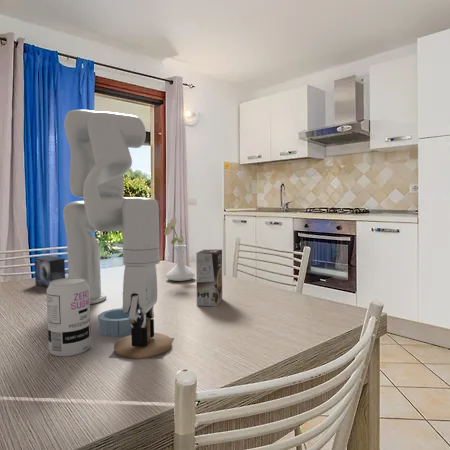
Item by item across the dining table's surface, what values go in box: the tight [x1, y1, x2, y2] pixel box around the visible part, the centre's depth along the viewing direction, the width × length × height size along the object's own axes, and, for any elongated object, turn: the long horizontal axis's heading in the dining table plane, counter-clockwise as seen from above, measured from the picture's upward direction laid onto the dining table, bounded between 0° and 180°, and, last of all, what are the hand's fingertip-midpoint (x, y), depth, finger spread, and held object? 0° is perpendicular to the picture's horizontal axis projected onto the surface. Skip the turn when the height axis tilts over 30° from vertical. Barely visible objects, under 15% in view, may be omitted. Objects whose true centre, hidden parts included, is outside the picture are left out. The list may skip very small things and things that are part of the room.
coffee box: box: [195, 249, 223, 307], centre depth 115 cm, size 9×6×16 cm
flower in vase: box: [163, 217, 196, 282], centre depth 147 cm, size 13×11×25 cm
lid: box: [113, 318, 173, 360], centre depth 80 cm, size 12×12×6 cm
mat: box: [108, 337, 175, 360], centre depth 80 cm, size 11×11×1 cm
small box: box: [33, 255, 66, 289], centre depth 140 cm, size 11×6×10 cm, turn 56°
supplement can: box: [46, 277, 92, 357], centre depth 79 cm, size 8×8×15 cm
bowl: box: [97, 307, 141, 337], centre depth 91 cm, size 10×10×4 cm
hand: (143, 340), depth 80 cm, fingers open, 4 cm apart
